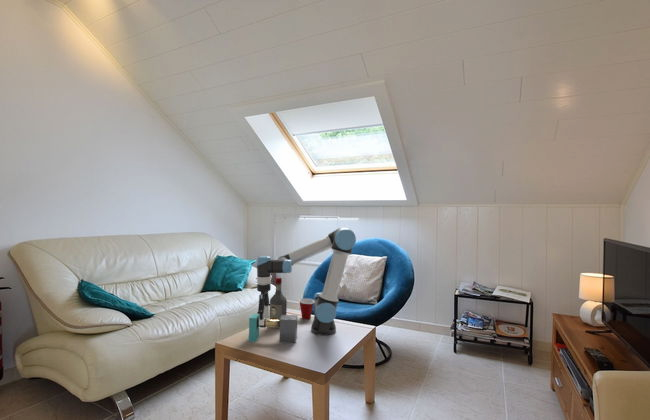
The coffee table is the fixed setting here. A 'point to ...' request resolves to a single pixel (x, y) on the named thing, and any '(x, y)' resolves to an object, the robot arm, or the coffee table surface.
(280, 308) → the liquor
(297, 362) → the coffee table surface
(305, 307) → the plastic cup
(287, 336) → the grey matte cuboid
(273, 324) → the brass tube
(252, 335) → the socket
